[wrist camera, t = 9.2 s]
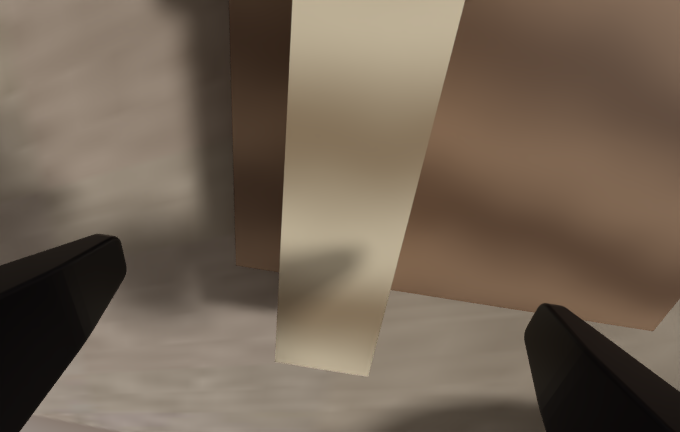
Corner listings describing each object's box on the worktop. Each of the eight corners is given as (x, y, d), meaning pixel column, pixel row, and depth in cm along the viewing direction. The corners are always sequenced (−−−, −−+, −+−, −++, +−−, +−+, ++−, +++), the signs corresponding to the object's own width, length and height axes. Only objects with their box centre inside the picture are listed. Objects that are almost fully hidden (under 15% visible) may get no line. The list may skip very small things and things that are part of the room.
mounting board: (633, 309, 19) (653, 331, 17) (245, 248, 19) (235, 265, 18) (1114, -337, 8) (1252, -404, 7) (238, -450, 9) (214, -532, 7)
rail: (369, 309, 18) (368, 376, 15) (293, 297, 18) (274, 362, 15) (506, -297, 8) (597, -513, 5) (342, -319, 9) (319, -546, 5)
